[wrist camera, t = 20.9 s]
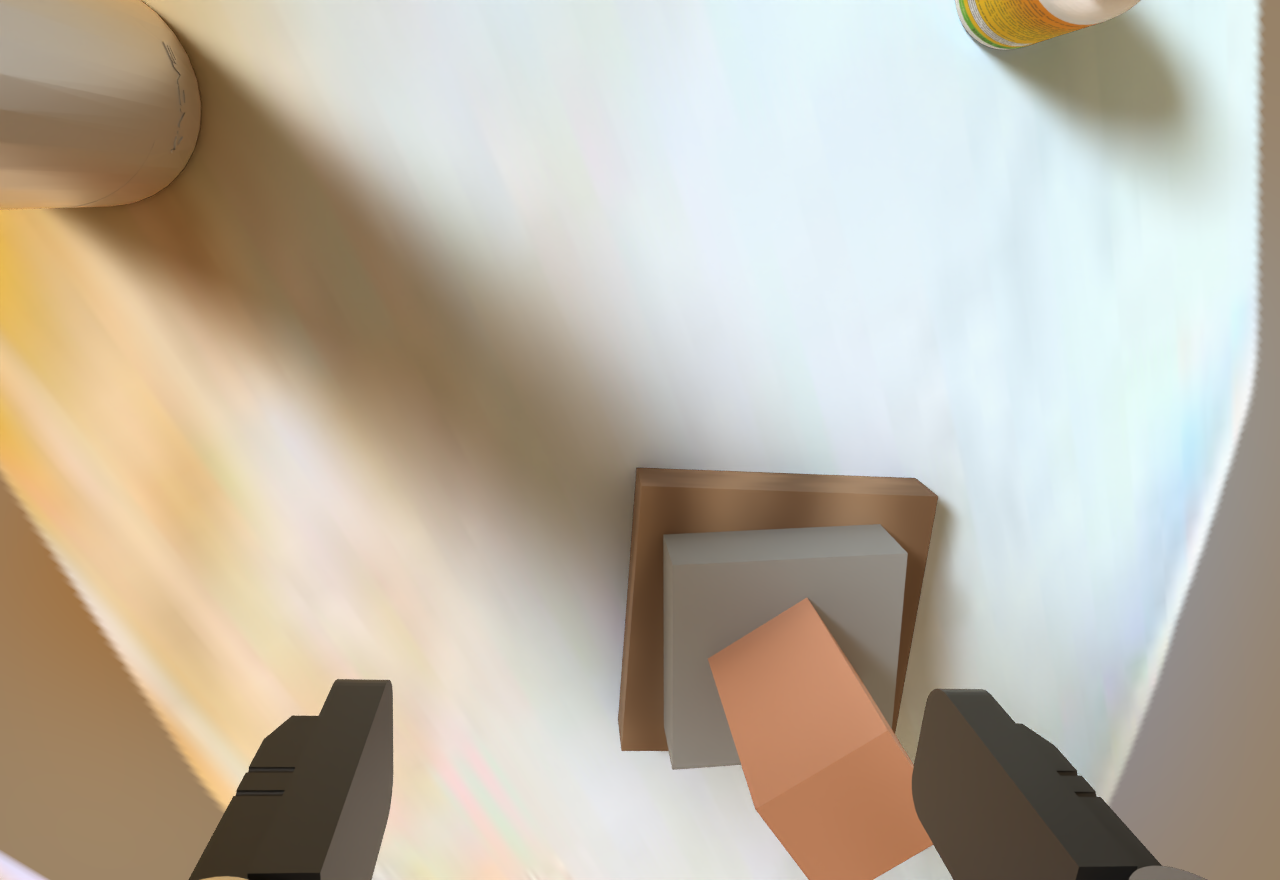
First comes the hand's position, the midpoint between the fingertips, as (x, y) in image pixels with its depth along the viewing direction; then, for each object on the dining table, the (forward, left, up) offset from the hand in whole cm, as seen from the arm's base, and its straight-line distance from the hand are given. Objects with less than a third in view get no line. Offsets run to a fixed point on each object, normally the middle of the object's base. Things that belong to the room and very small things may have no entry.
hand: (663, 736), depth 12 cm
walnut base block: (+10, -13, -31) cm, 35 cm away
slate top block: (+10, -13, -27) cm, 32 cm away
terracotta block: (+10, -14, -24) cm, 29 cm away
